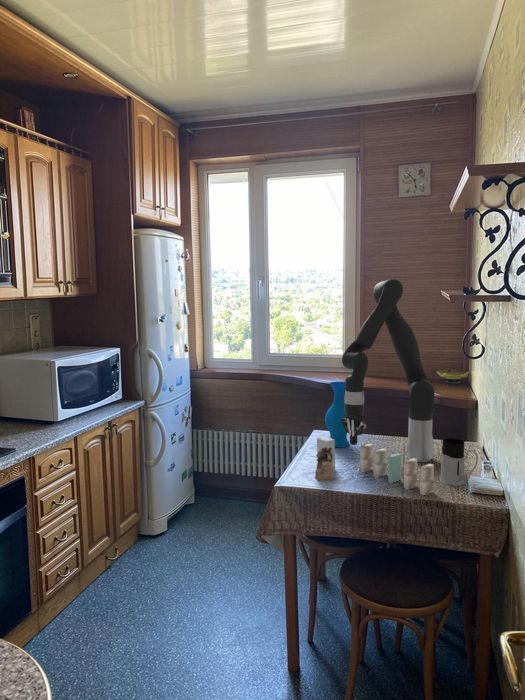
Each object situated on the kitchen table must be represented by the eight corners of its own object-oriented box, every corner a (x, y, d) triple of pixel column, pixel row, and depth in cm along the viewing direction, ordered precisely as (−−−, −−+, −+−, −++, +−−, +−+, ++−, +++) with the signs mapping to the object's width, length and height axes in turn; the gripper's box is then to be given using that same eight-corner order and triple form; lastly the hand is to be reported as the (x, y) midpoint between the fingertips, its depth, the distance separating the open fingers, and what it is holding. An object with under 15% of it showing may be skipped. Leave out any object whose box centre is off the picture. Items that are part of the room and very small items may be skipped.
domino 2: (382, 473, 201) (383, 448, 199) (386, 474, 199) (386, 449, 198) (373, 476, 198) (374, 450, 196) (377, 477, 196) (377, 451, 195)
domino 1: (369, 468, 206) (369, 443, 205) (372, 469, 205) (372, 444, 204) (360, 471, 203) (360, 446, 202) (363, 472, 202) (363, 447, 201)
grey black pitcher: (449, 474, 199) (450, 436, 197) (483, 486, 187) (485, 445, 185) (434, 479, 194) (435, 440, 192) (468, 492, 182) (470, 450, 180)
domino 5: (429, 491, 184) (430, 463, 182) (432, 492, 182) (433, 464, 181) (419, 494, 181) (420, 466, 179) (423, 496, 180) (424, 468, 178)
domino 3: (397, 479, 195) (397, 453, 194) (400, 480, 194) (401, 454, 192) (388, 482, 192) (388, 455, 191) (391, 483, 191) (392, 457, 189)
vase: (356, 442, 239) (357, 382, 235) (345, 450, 228) (346, 387, 224) (331, 439, 245) (331, 379, 241) (320, 446, 234) (320, 384, 230)
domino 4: (412, 484, 189) (413, 458, 188) (416, 486, 188) (417, 459, 187) (403, 488, 186) (404, 461, 185) (407, 489, 185) (408, 462, 184)
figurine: (319, 473, 202) (319, 442, 200) (336, 476, 198) (337, 445, 197) (312, 479, 196) (312, 448, 194) (330, 482, 192) (330, 450, 191)
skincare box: (335, 469, 206) (335, 439, 204) (327, 471, 203) (327, 441, 201) (324, 465, 210) (324, 435, 209) (316, 467, 208) (316, 437, 206)
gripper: (335, 400, 210) (335, 442, 212) (359, 406, 199) (358, 450, 201) (349, 397, 214) (348, 438, 216) (373, 403, 203) (372, 447, 205)
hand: (353, 444), depth 209 cm, fingers closed
